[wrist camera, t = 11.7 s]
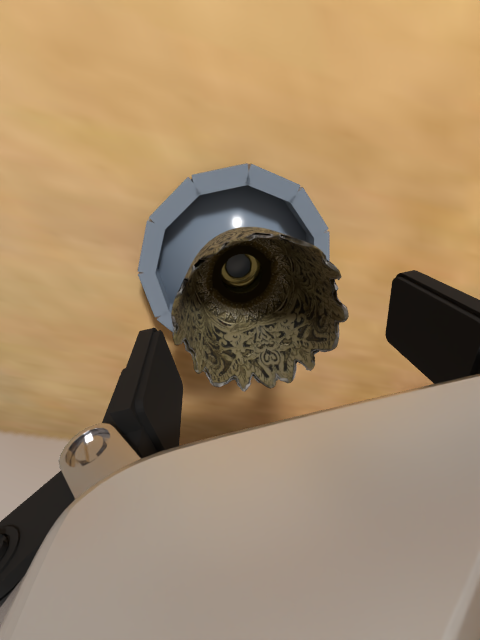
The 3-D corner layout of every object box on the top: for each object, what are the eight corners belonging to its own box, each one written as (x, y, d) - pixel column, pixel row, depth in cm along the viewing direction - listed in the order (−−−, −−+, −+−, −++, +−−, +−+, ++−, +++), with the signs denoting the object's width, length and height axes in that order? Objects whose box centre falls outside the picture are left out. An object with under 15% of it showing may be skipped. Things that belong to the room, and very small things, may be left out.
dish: (313, 149, 16) (329, 146, 14) (318, 318, 22) (329, 331, 20) (115, 190, 15) (105, 192, 14) (176, 352, 21) (175, 368, 20)
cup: (161, 231, 16) (134, 280, 9) (275, 186, 16) (335, 202, 9) (208, 327, 20) (213, 411, 13) (301, 292, 20) (356, 361, 13)
